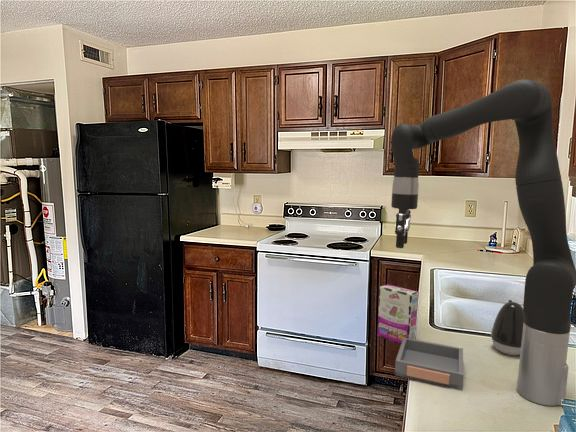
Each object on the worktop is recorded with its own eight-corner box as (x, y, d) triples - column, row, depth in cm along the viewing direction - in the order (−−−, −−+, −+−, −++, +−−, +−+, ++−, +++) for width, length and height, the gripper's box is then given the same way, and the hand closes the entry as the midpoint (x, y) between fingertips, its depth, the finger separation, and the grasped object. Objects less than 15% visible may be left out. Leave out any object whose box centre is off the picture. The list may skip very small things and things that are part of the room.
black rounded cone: (524, 347, 123) (529, 299, 121) (532, 362, 113) (537, 310, 112) (487, 341, 127) (492, 294, 125) (492, 355, 117) (497, 305, 115)
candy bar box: (416, 343, 124) (419, 291, 122) (408, 347, 120) (411, 294, 118) (384, 331, 132) (387, 283, 130) (376, 336, 128) (379, 286, 126)
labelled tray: (461, 362, 112) (462, 348, 112) (461, 391, 97) (463, 375, 97) (402, 350, 118) (403, 337, 118) (394, 376, 103) (395, 361, 103)
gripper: (415, 194, 112) (411, 251, 114) (420, 192, 125) (416, 243, 127) (388, 192, 115) (385, 248, 117) (395, 190, 128) (392, 240, 130)
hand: (401, 245), depth 122 cm, fingers open, 8 cm apart
